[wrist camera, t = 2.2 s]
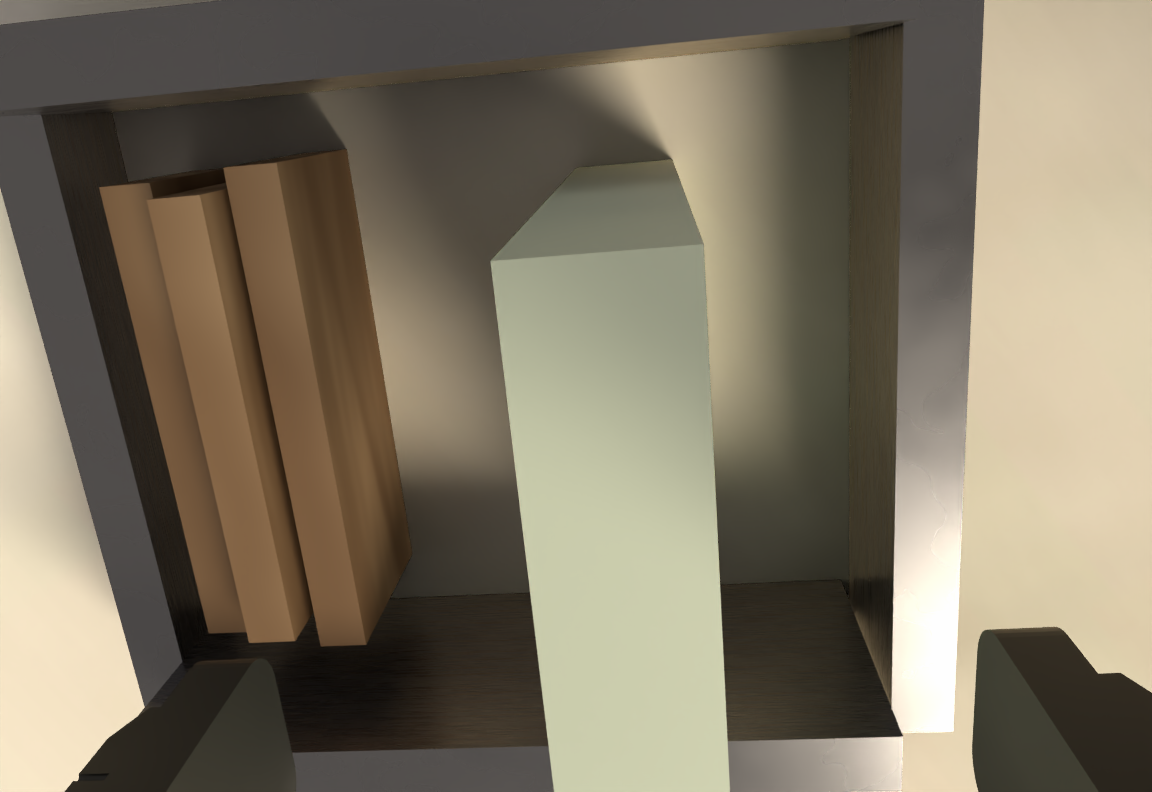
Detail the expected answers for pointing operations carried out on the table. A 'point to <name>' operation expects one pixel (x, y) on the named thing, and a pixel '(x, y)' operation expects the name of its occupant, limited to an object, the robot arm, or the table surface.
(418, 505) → the table surface
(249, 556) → the offcut stack
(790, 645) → the tray
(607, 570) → the pale green flat block
